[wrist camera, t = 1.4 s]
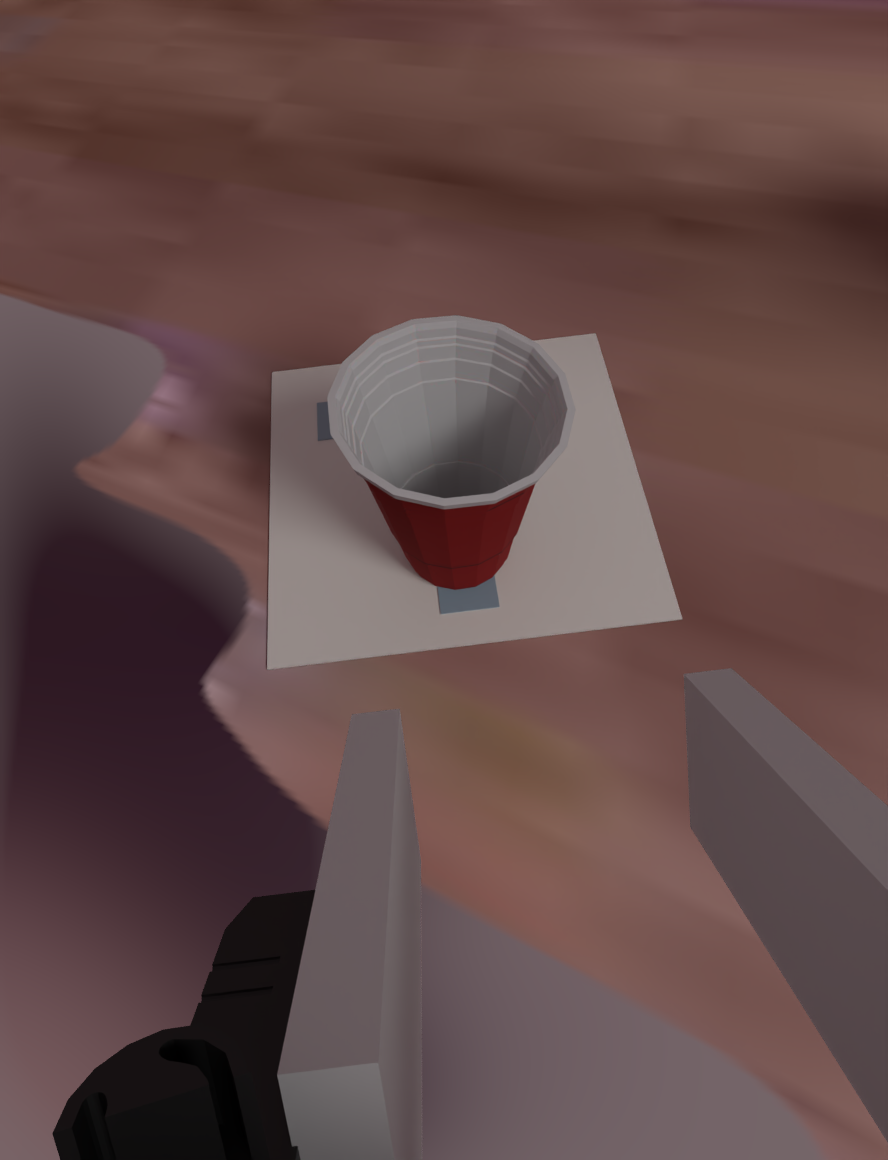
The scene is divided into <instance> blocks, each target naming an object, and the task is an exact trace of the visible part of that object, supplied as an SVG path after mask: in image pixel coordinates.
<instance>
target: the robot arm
mask: <svg viewBox="0 0 888 1160" xmlns="http://www.w3.org/2000/svg"><path fill="white" fill-rule="evenodd" d="M684 689H685V712H686V735H687V758H688V781H689V804H690V827H691V829H692V830H693V832H694V834H695V835H696V837H697V838H698V840H699V842H700V843H701V845H702V846H703V848H704V850H705V851H706V853H707V854H708V856H709V858H710V859H711V861H712V862H713V864H714V866H715V867H716V869H717V870H718V872H719V874H720V875H721V877H722V878H723V880H724V882H725V883H726V885H727V886H728V888H729V890H730V891H731V893H732V894H733V896H734V898H735V899H736V901H737V902H738V904H739V906H740V907H741V909H742V910H743V912H744V914H745V915H746V917H747V918H748V920H749V922H750V923H751V925H752V926H753V928H754V930H755V931H756V933H757V934H758V936H759V938H760V939H761V941H762V942H763V944H764V946H765V947H766V949H767V950H768V952H769V954H770V955H771V957H772V958H773V960H774V961H775V963H776V965H777V966H778V968H779V969H780V971H781V973H782V974H783V976H784V977H785V979H786V981H787V982H788V984H789V985H790V987H791V989H792V990H793V992H794V993H795V995H796V997H797V998H798V1000H799V1001H800V1003H801V1005H802V1006H803V1008H804V1009H805V1011H806V1013H807V1014H808V1016H809V1017H810V1019H811V1021H812V1022H813V1024H814V1025H815V1027H816V1029H817V1030H818V1032H819V1033H820V1035H821V1037H822V1038H823V1040H824V1041H825V1043H826V1045H827V1046H828V1048H829V1049H830V1051H831V1053H832V1054H833V1056H834V1057H835V1059H836V1061H837V1062H838V1064H839V1065H840V1067H841V1069H842V1070H843V1072H844V1073H845V1075H846V1077H847V1078H848V1080H849V1081H850V1083H851V1085H852V1086H853V1088H854V1089H855V1091H856V1093H857V1094H858V1096H859V1097H860V1099H861V1101H862V1102H863V1104H864V1105H865V1107H866V1109H867V1110H868V1112H869V1113H870V1115H871V1117H872V1118H873V1120H874V1121H875V1123H876V1125H877V1126H878V1128H879V1129H880V1131H881V1133H882V1134H883V1136H884V1137H885V1139H886V1140H887V1142H888V806H887V805H886V804H885V803H884V802H883V801H881V800H880V799H879V798H878V797H877V796H876V795H875V794H873V793H872V792H871V791H870V790H869V789H868V788H867V787H866V786H864V785H863V784H862V783H861V782H860V781H859V780H858V779H856V778H855V777H854V776H853V775H852V774H851V773H850V772H849V771H847V770H846V769H845V768H844V767H843V766H842V765H841V764H839V763H838V762H837V761H836V760H835V759H834V758H833V757H831V756H830V755H829V754H828V753H827V752H826V751H825V750H824V749H822V748H821V747H820V746H819V745H818V744H817V743H816V742H814V741H813V740H812V739H811V738H810V737H809V736H808V735H807V734H805V733H804V732H803V731H802V730H801V729H800V728H799V727H797V726H796V725H795V724H794V723H793V722H792V721H791V720H789V719H788V718H787V717H786V716H785V715H784V714H783V713H782V712H780V711H779V710H778V709H777V708H776V707H775V706H774V705H772V704H771V703H770V702H769V701H768V700H767V699H766V698H765V697H763V696H762V695H761V694H760V693H759V692H758V691H757V690H755V689H754V688H753V687H752V686H751V685H750V684H749V683H748V682H746V681H745V680H744V679H743V678H742V677H741V676H740V675H738V674H737V673H736V672H735V671H734V670H733V669H732V668H730V669H722V670H714V671H705V672H697V673H689V674H684ZM212 965H213V970H212V972H210V973H209V975H208V978H207V981H206V984H205V987H204V989H203V992H202V1001H201V1003H198V1006H197V1009H196V1012H195V1015H194V1017H193V1020H192V1023H191V1025H190V1026H186V1027H178V1028H172V1029H165V1030H161V1031H159V1032H157V1033H155V1034H152V1035H150V1036H147V1037H145V1038H143V1039H140V1040H138V1041H136V1042H134V1043H131V1044H129V1045H127V1046H126V1047H125V1048H123V1049H121V1050H120V1051H119V1052H117V1053H116V1054H115V1055H113V1056H112V1057H110V1058H109V1059H108V1060H107V1061H105V1062H104V1063H102V1064H101V1065H99V1066H98V1067H97V1068H95V1069H94V1070H93V1072H92V1073H91V1074H90V1075H89V1076H88V1077H87V1078H86V1080H85V1081H84V1082H83V1083H82V1084H81V1086H80V1087H79V1088H78V1089H77V1090H76V1091H75V1092H74V1093H73V1095H72V1096H71V1097H70V1098H69V1099H68V1101H67V1103H66V1106H65V1108H64V1110H63V1112H62V1114H61V1116H60V1119H59V1121H58V1123H57V1125H56V1127H55V1129H54V1131H53V1137H54V1140H55V1143H56V1146H57V1150H58V1153H59V1156H60V1160H422V998H421V997H422V996H421V995H422V994H421V993H422V992H421V991H422V990H421V989H422V987H421V858H420V850H419V843H418V836H417V829H416V822H415V815H414V808H413V801H412V793H411V786H410V779H409V772H408V765H407V758H406V751H405V744H404V736H403V729H402V722H401V715H400V709H393V710H385V711H376V712H368V713H360V714H352V716H351V721H350V726H349V731H348V736H347V740H346V745H345V750H344V755H343V760H342V764H341V769H340V774H339V779H338V784H337V789H336V793H335V798H334V803H333V808H332V813H331V818H330V822H329V827H328V832H327V837H326V842H325V846H324V851H323V856H322V861H321V866H320V871H319V875H318V880H317V885H316V890H311V891H303V892H294V893H286V894H278V895H270V896H262V897H253V898H252V899H251V900H250V902H249V903H248V904H247V905H246V906H245V907H244V908H243V910H242V911H241V912H240V913H239V914H238V915H237V916H236V917H235V919H234V920H233V921H232V922H231V923H230V924H229V925H228V927H227V928H226V929H225V931H224V934H223V937H222V939H221V942H220V945H219V948H218V951H217V953H216V956H215V959H214V962H213V964H212Z"/></svg>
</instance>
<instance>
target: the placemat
mask: <svg viewBox="0 0 888 1160" xmlns="http://www.w3.org/2000/svg"><path fill="white" fill-rule="evenodd" d="M534 342H536V343H538V344H539V345H540V346H541V347H542V348H543V349H544V350H545V351H546V353H547V354H548V355H549V356H550V357H551V358H552V359H553V361H554V362H555V363H556V364H557V365H558V366H559V367H560V368H561V370H562V371H563V372H564V373H565V375H566V378H567V382H568V385H569V389H570V392H571V395H572V399H573V402H574V406H575V409H576V410H575V415H574V419H573V423H572V428H571V432H570V436H569V441H568V445H567V448H566V449H565V450H564V451H563V453H562V454H561V455H560V456H559V457H558V458H557V459H556V461H555V462H554V463H553V464H552V465H551V466H550V468H549V469H548V470H547V471H546V472H545V473H544V475H543V476H542V477H541V478H540V479H539V480H538V482H537V483H535V486H534V489H533V492H532V494H531V497H530V500H529V503H528V505H527V508H526V511H525V513H524V516H523V519H522V522H521V524H520V527H519V530H518V533H517V535H516V536H515V537H514V539H513V542H512V545H511V549H510V552H509V555H508V558H507V560H506V561H505V562H504V564H503V565H502V567H501V568H500V569H499V570H498V571H497V573H496V574H495V575H494V576H493V577H492V578H491V579H489V580H487V581H485V582H483V583H482V584H480V585H478V586H476V587H471V588H465V589H458V590H453V589H448V588H443V587H438V586H435V585H433V584H432V583H430V582H428V581H427V580H425V579H424V578H422V577H420V576H419V574H418V573H417V572H416V571H415V570H414V568H413V567H412V565H411V564H410V563H409V561H408V560H407V558H406V557H405V555H404V553H403V550H402V548H401V546H400V544H399V543H398V541H397V540H396V538H395V537H394V535H393V534H392V533H391V531H390V529H389V527H388V525H387V523H386V521H385V519H384V517H383V515H382V513H381V511H380V509H379V507H378V505H377V503H376V501H375V499H374V497H373V495H372V493H371V491H370V489H369V487H368V485H367V483H366V482H365V480H364V479H363V478H362V477H360V476H359V475H357V474H356V472H355V471H354V469H353V468H352V466H351V465H350V463H349V462H348V460H347V459H346V457H345V456H344V454H343V453H342V451H341V450H340V448H339V447H338V445H337V444H336V442H335V441H334V439H333V437H332V436H331V434H330V423H329V412H328V400H327V396H328V394H329V391H330V389H331V387H332V385H333V382H334V380H335V378H336V375H337V373H338V371H339V369H340V366H341V364H336V365H327V366H319V367H311V368H303V369H294V370H286V371H278V372H272V395H271V457H270V519H269V581H268V644H267V670H271V669H279V668H288V667H296V666H304V665H312V664H321V663H329V662H337V661H345V660H353V659H362V658H370V657H378V656H386V655H395V654H403V653H411V652H419V651H428V650H436V649H444V648H452V647H460V646H469V645H477V644H485V643H493V642H502V641H510V640H518V639H526V638H534V637H543V636H551V635H559V634H567V633H576V632H584V631H592V630H600V629H608V628H617V627H625V626H633V625H641V624H650V623H658V622H666V621H674V620H682V616H681V613H680V610H679V606H678V603H677V600H676V596H675V593H674V590H673V586H672V583H671V580H670V577H669V573H668V570H667V567H666V563H665V560H664V557H663V554H662V550H661V547H660V544H659V540H658V537H657V534H656V530H655V527H654V524H653V521H652V517H651V514H650V511H649V507H648V504H647V501H646V498H645V494H644V491H643V488H642V484H641V481H640V478H639V474H638V471H637V468H636V465H635V461H634V458H633V455H632V451H631V448H630V445H629V441H628V438H627V435H626V432H625V428H624V425H623V422H622V418H621V415H620V412H619V409H618V405H617V402H616V399H615V395H614V392H613V389H612V385H611V382H610V379H609V376H608V372H607V369H606V366H605V362H604V359H603V356H602V353H601V349H600V346H599V343H598V339H597V336H596V333H594V334H585V335H577V336H569V337H561V338H552V339H544V340H536V341H534Z"/></svg>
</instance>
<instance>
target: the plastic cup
mask: <svg viewBox="0 0 888 1160" xmlns="http://www.w3.org/2000/svg"><path fill="white" fill-rule="evenodd" d="M327 400H328V412H329V423H330V434H331V436H332V437H333V439H334V441H335V442H336V444H337V445H338V447H339V448H340V450H341V451H342V453H343V454H344V456H345V457H346V459H347V460H348V462H349V463H350V465H351V466H352V468H353V469H354V471H355V472H356V474H357V475H359V476H360V477H362V478H363V479H364V480H365V482H366V483H367V485H368V487H369V489H370V491H371V493H372V495H373V497H374V499H375V501H376V503H377V505H378V507H379V509H380V511H381V513H382V515H383V517H384V519H385V521H386V523H387V525H388V527H389V529H390V531H391V533H392V534H393V535H394V537H395V538H396V540H397V541H398V543H399V544H400V546H401V548H402V550H403V553H404V555H405V557H406V558H407V560H408V561H409V563H410V564H411V565H412V567H413V568H414V570H415V571H416V572H417V573H418V574H419V576H420V577H422V578H424V579H425V580H427V581H428V582H430V583H432V584H433V585H435V586H438V587H443V588H448V589H453V590H458V589H465V588H471V587H476V586H478V585H480V584H482V583H483V582H485V581H487V580H489V579H491V578H492V577H493V576H494V575H495V574H496V573H497V571H498V570H499V569H500V568H501V567H502V565H503V564H504V562H505V561H506V560H507V558H508V555H509V552H510V549H511V545H512V542H513V539H514V537H515V536H516V535H517V533H518V530H519V527H520V524H521V522H522V519H523V516H524V513H525V511H526V508H527V505H528V503H529V500H530V497H531V494H532V492H533V489H534V486H535V483H537V482H538V480H539V479H540V478H541V477H542V476H543V475H544V473H545V472H546V471H547V470H548V469H549V468H550V466H551V465H552V464H553V463H554V462H555V461H556V459H557V458H558V457H559V456H560V455H561V454H562V453H563V451H564V450H565V449H566V448H567V445H568V441H569V436H570V432H571V428H572V423H573V419H574V415H575V410H576V409H575V406H574V402H573V399H572V395H571V392H570V389H569V385H568V382H567V378H566V375H565V373H564V372H563V371H562V370H561V368H560V367H559V366H558V365H557V364H556V363H555V362H554V361H553V359H552V358H551V357H550V356H549V355H548V354H547V353H546V351H545V350H544V349H543V348H542V347H541V346H540V345H539V344H538V343H536V342H534V341H532V340H531V339H529V338H527V337H525V336H523V335H521V334H519V333H517V332H516V331H514V330H512V329H510V328H508V327H506V326H504V325H502V324H500V323H494V322H489V321H484V320H479V319H474V318H468V317H463V316H458V315H455V316H444V317H433V318H422V319H412V320H409V321H407V322H405V323H402V324H400V325H397V326H395V327H392V328H390V329H387V330H385V331H382V332H380V333H377V334H375V335H372V336H371V337H370V338H369V339H368V340H367V341H366V342H364V343H363V344H362V345H361V346H360V347H359V348H358V349H357V350H356V351H354V352H353V353H352V354H351V355H350V356H349V357H348V358H347V359H345V360H344V361H343V362H342V364H341V366H340V369H339V371H338V373H337V375H336V378H335V380H334V382H333V385H332V387H331V389H330V391H329V394H328V396H327Z"/></svg>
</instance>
